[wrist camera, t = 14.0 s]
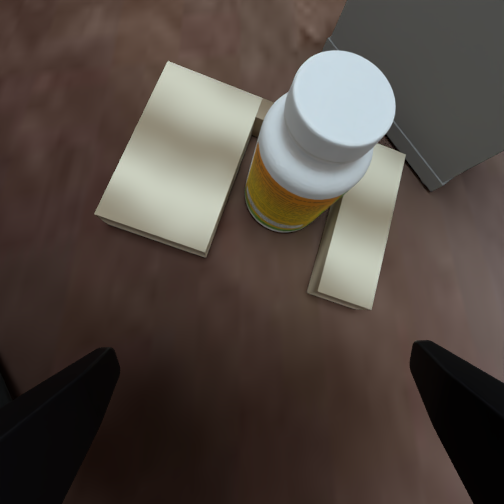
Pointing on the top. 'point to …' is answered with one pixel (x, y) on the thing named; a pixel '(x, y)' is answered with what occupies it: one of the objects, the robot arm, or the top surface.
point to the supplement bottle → (318, 139)
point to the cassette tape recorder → (435, 77)
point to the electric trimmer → (4, 393)
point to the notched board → (222, 179)
